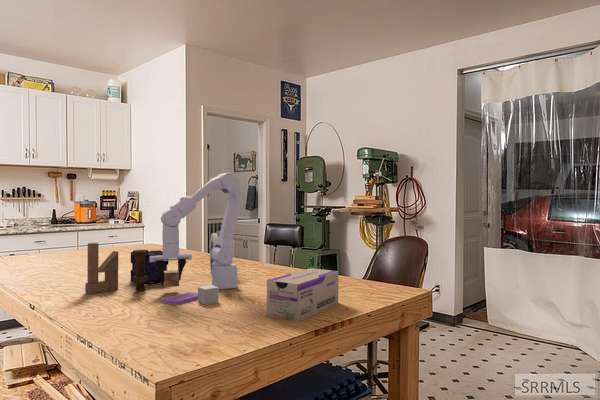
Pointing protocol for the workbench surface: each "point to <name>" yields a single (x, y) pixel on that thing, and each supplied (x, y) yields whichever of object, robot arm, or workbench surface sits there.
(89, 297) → the workbench surface
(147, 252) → the bolt
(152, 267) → the energy cube
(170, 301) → the sponges
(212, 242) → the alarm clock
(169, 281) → the brown boxy piece
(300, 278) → the surgical sutures box
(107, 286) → the wooden block
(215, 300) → the grey block
